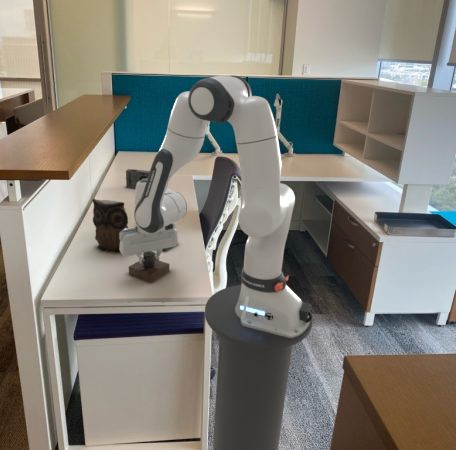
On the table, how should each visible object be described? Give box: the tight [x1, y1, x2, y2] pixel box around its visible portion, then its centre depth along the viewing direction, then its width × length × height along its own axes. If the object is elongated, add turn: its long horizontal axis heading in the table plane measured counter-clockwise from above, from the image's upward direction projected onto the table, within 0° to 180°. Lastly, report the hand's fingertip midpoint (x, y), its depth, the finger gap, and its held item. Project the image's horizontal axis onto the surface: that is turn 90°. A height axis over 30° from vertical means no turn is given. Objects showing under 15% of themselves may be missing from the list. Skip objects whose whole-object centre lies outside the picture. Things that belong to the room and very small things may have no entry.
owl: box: [92, 198, 129, 254], centre depth 169 cm, size 13×13×20 cm
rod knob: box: [142, 251, 156, 268], centre depth 153 cm, size 4×4×5 cm
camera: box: [125, 168, 150, 189], centre depth 243 cm, size 16×4×10 cm, turn 77°
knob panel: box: [128, 259, 170, 283], centre depth 155 cm, size 10×10×3 cm
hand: (149, 261), depth 154 cm, fingers closed on rod knob, 4 cm apart
